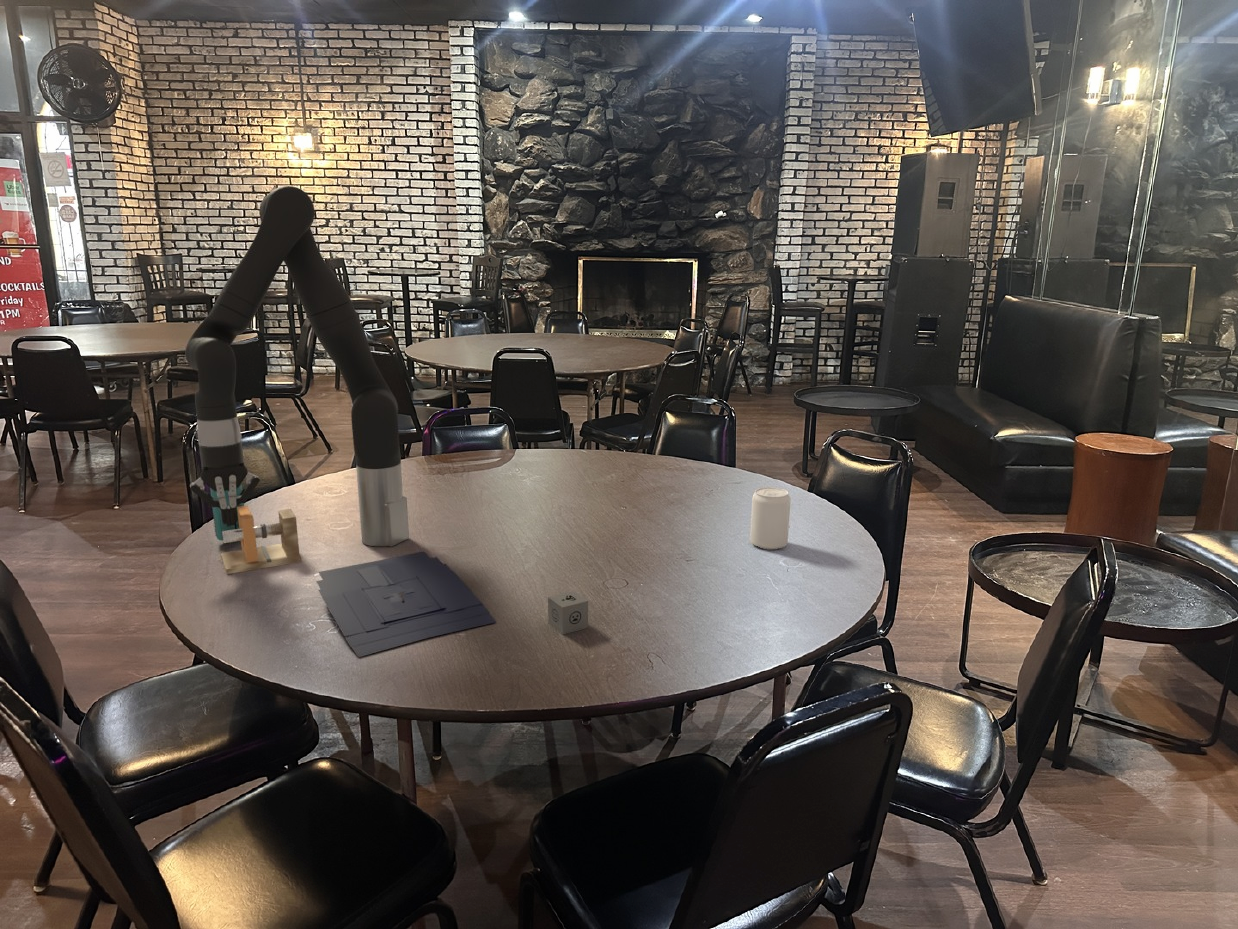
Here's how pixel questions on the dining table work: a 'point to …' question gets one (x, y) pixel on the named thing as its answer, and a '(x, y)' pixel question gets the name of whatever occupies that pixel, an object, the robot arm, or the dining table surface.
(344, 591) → the dark blue flat slab
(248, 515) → the collar
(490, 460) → the dining table surface
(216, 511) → the beverage bottle
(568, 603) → the dice cube
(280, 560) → the pipe stand
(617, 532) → the dining table surface
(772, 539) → the beverage can
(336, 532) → the dining table surface
